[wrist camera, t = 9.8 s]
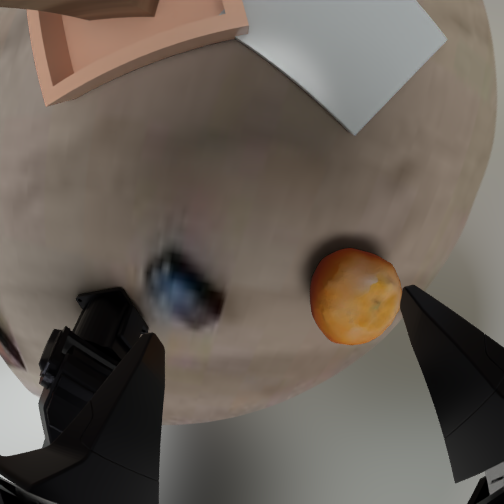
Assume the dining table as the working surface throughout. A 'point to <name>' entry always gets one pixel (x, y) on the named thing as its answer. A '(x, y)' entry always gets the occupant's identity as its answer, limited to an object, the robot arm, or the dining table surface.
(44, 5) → the walnut block
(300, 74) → the light grey board
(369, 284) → the fruit
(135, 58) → the box
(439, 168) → the dining table surface
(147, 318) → the dining table surface
